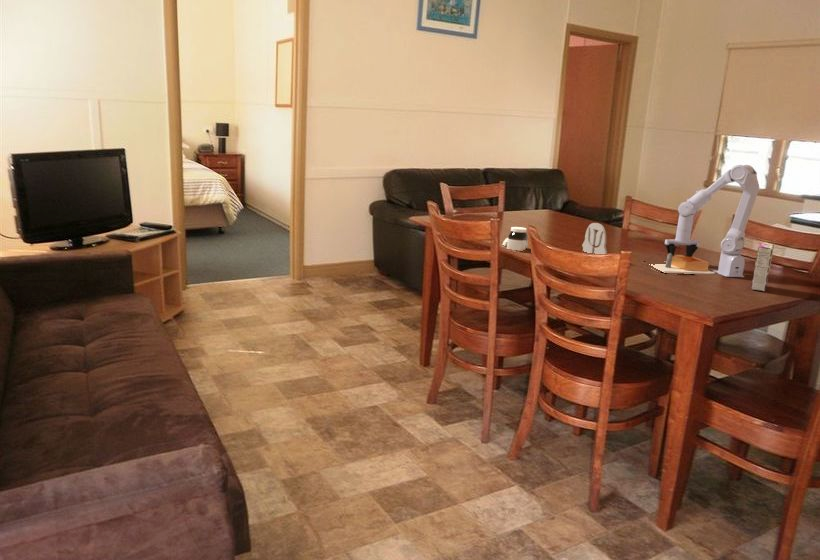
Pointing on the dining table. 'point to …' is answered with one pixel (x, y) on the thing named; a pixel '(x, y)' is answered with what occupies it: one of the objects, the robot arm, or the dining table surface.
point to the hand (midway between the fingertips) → (678, 261)
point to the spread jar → (516, 239)
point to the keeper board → (676, 268)
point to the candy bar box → (762, 267)
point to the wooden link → (689, 263)
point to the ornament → (591, 239)
